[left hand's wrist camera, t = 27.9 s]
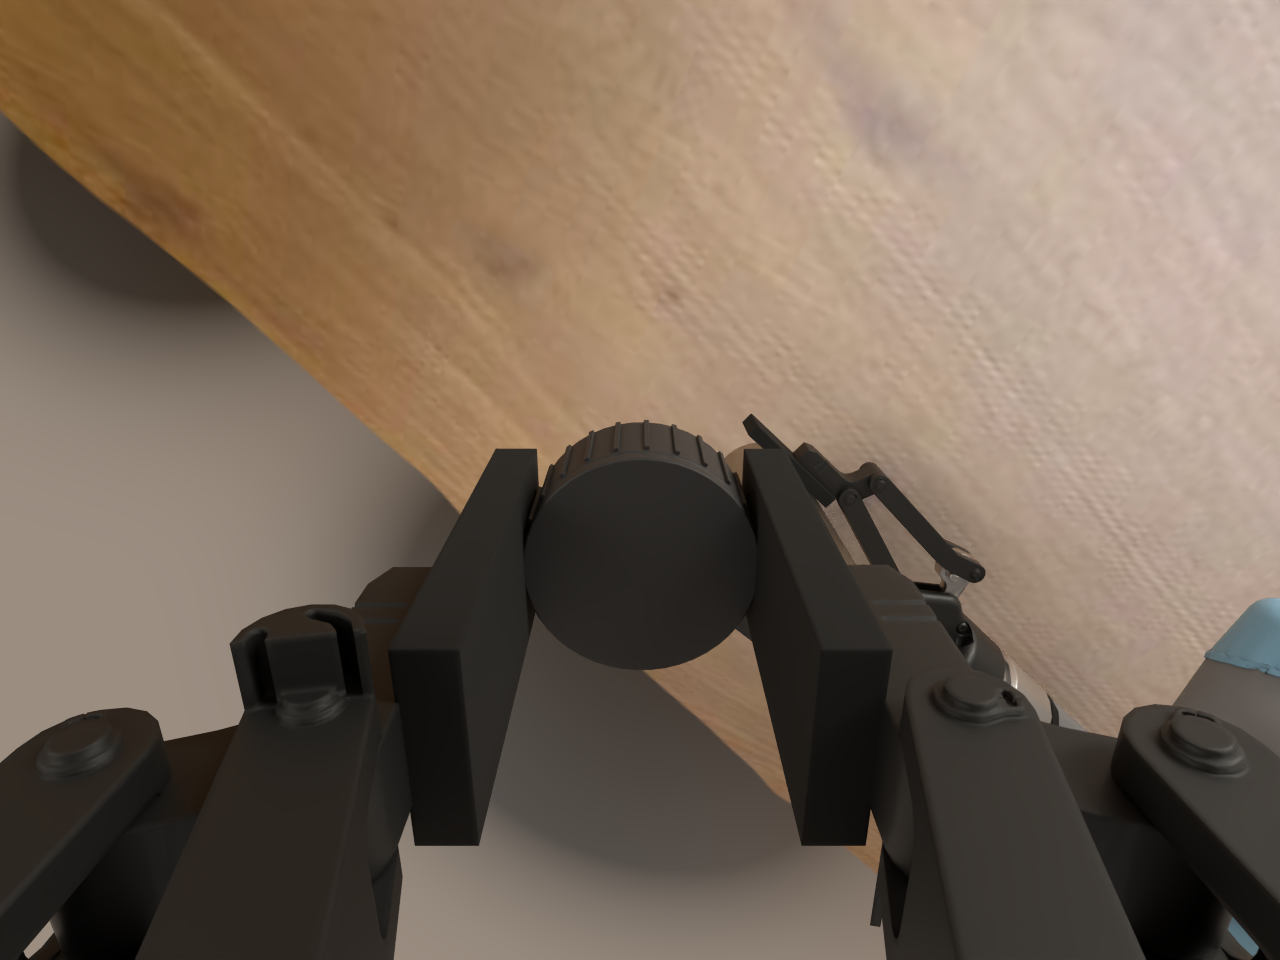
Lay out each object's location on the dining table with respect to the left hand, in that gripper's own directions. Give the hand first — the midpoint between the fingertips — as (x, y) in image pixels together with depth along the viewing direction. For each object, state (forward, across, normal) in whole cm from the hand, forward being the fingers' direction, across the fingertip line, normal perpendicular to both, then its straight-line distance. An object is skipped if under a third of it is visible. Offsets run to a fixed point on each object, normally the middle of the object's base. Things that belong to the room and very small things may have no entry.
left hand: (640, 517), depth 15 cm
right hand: (+29, +4, -10) cm, 31 cm away
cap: (-2, 0, 0) cm, 2 cm away
